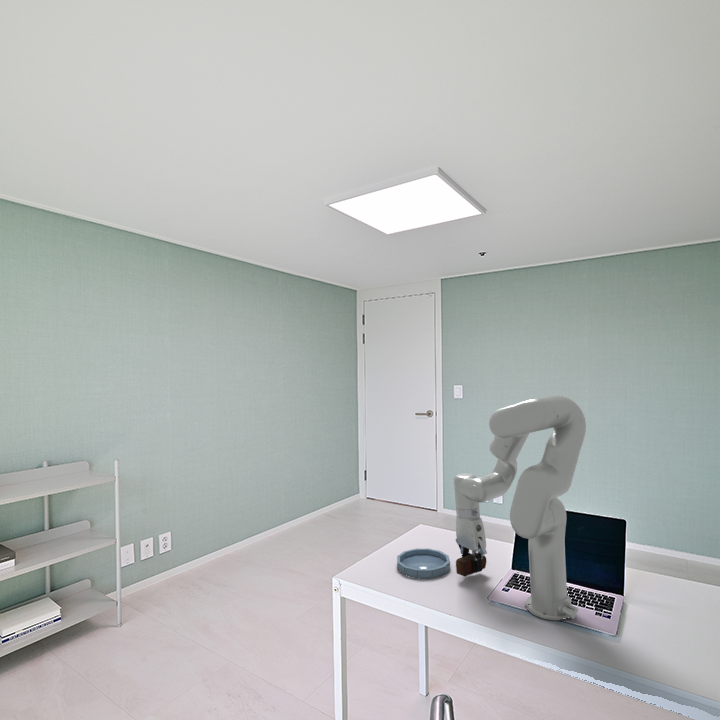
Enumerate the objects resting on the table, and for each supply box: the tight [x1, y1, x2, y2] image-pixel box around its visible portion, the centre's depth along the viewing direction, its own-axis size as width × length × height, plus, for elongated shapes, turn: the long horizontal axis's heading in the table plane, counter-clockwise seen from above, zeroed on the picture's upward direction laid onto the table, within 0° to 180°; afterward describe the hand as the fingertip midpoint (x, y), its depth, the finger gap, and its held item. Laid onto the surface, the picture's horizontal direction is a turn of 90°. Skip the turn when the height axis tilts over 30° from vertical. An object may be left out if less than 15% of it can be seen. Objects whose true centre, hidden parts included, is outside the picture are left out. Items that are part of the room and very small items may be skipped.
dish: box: [396, 548, 451, 580], centre depth 160 cm, size 18×18×3 cm
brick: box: [455, 552, 487, 578], centre depth 150 cm, size 11×4×5 cm, turn 126°
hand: (472, 568), depth 150 cm, fingers closed on brick, 4 cm apart
